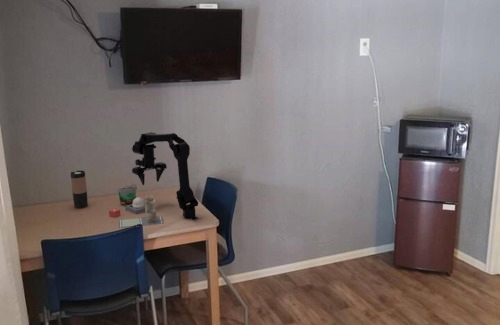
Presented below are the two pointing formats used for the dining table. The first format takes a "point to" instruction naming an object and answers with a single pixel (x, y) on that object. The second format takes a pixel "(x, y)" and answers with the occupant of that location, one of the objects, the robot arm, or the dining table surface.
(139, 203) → the dome button
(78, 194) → the travel mug
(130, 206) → the dome housing
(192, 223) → the dining table surface
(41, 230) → the dining table surface
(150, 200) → the capped square post
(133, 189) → the food container
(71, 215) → the dining table surface
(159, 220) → the board
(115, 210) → the red die
